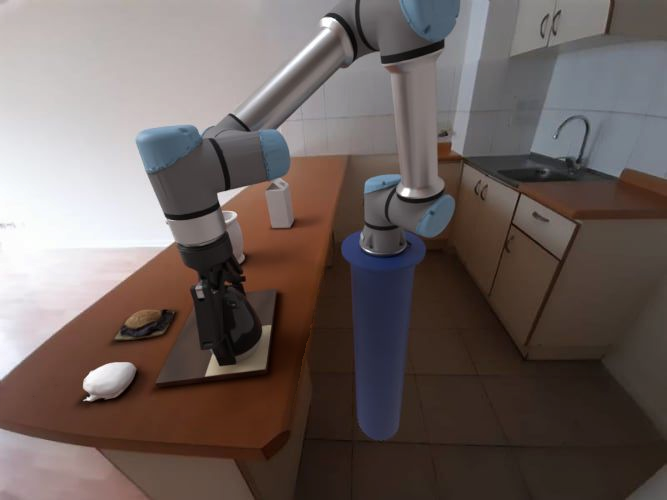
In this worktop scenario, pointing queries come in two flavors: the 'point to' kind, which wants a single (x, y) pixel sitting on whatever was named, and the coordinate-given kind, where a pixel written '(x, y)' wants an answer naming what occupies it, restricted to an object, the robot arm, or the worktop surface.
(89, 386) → the garlic
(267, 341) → the cutting board
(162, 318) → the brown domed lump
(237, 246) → the jar
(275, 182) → the milk carton
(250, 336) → the black egg-shaped ornament
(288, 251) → the worktop surface
